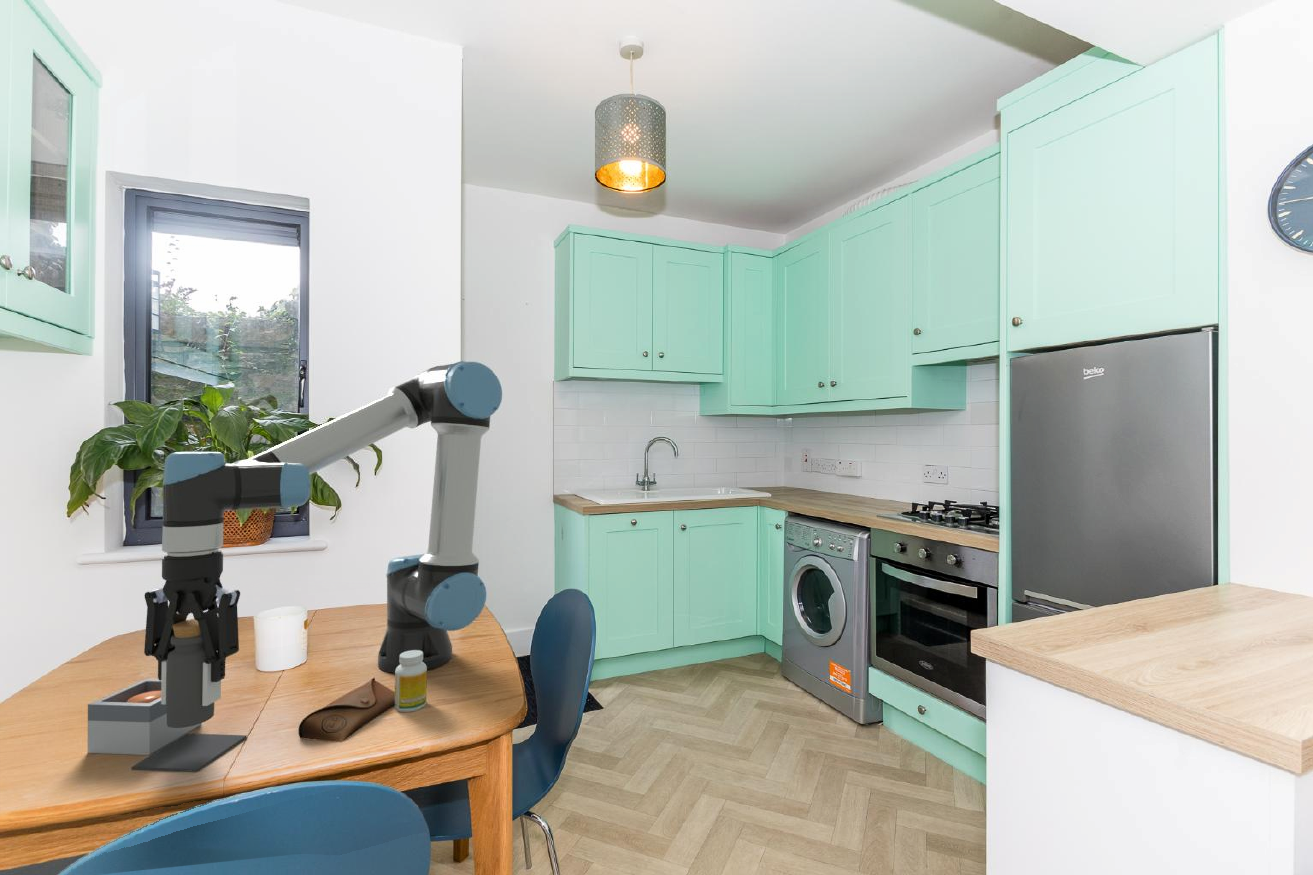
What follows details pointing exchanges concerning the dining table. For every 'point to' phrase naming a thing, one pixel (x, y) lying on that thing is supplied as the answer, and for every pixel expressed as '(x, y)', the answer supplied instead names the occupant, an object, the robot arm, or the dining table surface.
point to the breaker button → (145, 697)
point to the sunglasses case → (348, 713)
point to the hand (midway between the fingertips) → (191, 700)
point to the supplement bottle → (410, 682)
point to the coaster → (190, 752)
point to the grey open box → (130, 722)
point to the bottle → (186, 677)
